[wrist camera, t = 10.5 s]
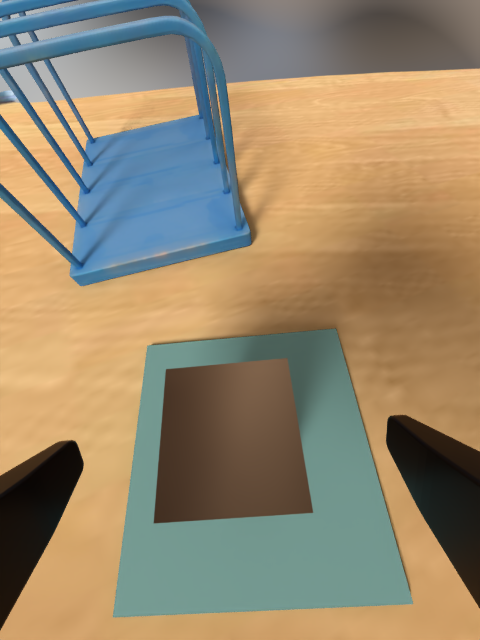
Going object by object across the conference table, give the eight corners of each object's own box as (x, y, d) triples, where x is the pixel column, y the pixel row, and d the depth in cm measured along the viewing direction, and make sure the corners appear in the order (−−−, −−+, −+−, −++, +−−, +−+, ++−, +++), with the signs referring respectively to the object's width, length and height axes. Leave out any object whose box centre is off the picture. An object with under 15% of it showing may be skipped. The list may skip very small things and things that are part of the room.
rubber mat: (408, 599, 12) (413, 604, 12) (116, 612, 13) (112, 617, 13) (334, 330, 19) (336, 328, 19) (149, 347, 20) (147, 345, 20)
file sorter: (94, 154, 36) (-7, -25, 22) (210, 129, 37) (179, -59, 23) (80, 288, 24) (-154, 77, 10) (252, 247, 25) (240, 1, 11)
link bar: (274, 407, 17) (287, 358, 8) (283, 477, 15) (313, 512, 6) (216, 412, 17) (165, 369, 8) (217, 481, 15) (153, 523, 6)
